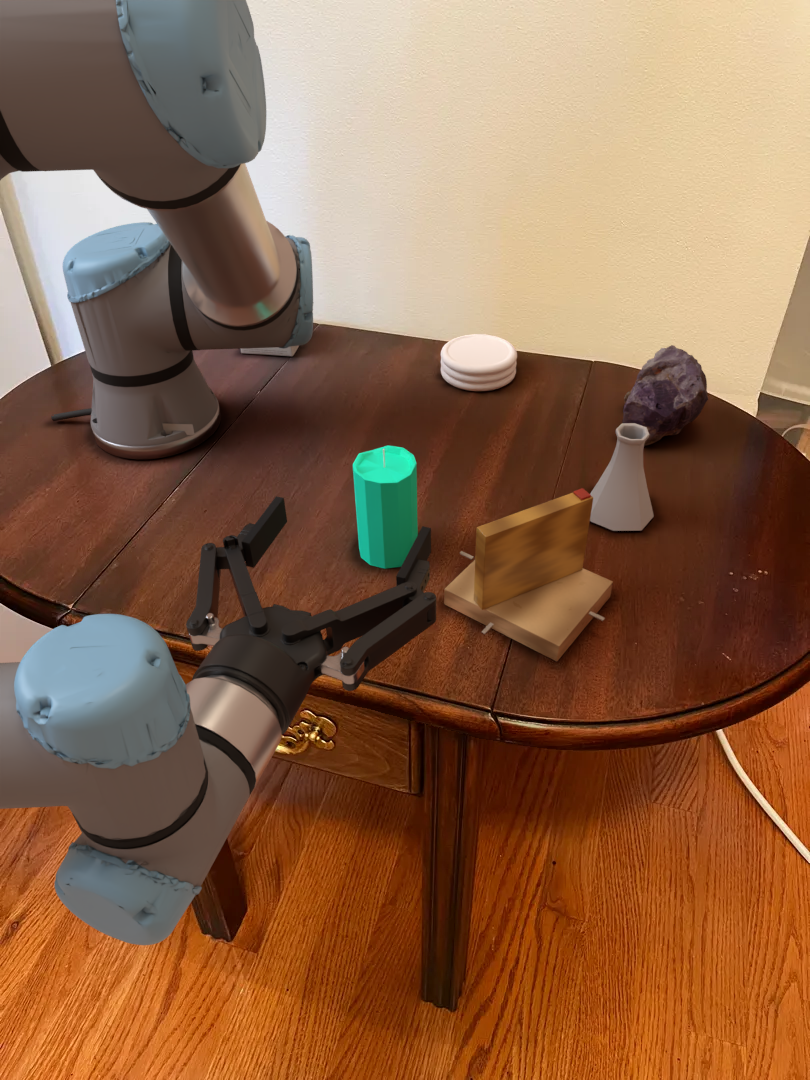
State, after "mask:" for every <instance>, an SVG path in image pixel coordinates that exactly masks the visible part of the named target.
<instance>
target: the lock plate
mask: <svg viewBox="0 0 810 1080" xmlns="http://www.w3.org/2000/svg"><path fill="white" fill-rule="evenodd" d="M459 555H461V556H463V557H465V558H466V559H468V560H469V559H470V560H473V559H474V560H473V561H472V562H470V564H468V566H466V568H465V569H463V570H462V571H461V572H460V573H459V574H458V575H457V576H456V577H455V578H454V579H453V580H452V581H451V582H450V583H449V584H448V585H447V586H446V587H444V590H443V604H444V605H445V606H446V607H449V608H451V609H453V610H455V611H457V612H459V613H460V614H463V615H465V616H466V617H469V618H470V619H472V620H474V621H477V622H478V623H480V624H482V625H484V626H485V627H484V628H483V629H482V631H481V634H483V635H486V634H488V632H489V631H490V630H491V629H493V630H494V631H496V632H498V633H500V634H502V635H504V636H506V637H507V638H509V639H512V640H514V641H516V642H517V643H520V644H521V645H523V646H525V647H527V648H529V649H531V650H533V651H535V652H537V653H539V654H541V655H543V656H545V657H547V658H549V659H551V660H553V661H555V662H558V661H559V660H560V659H561V657H562V656H563V655H564V654H565V653H566V652H567V650H568V649H569V648H570V646H571V645H572V644H573V643H574V642H575V641H576V639H577V638H578V637H579V636H580V634H582V632H583V631H584V629H585V628H586V627H587V626H588V625H589V623H590V622H591V621H592V620H593V619H597V620H599V621H601V622H603V621H605V619H606V617H604V616H602V615H600V614H598V613H599V611H600V610H601V609H602V607H603V606H604V605H605V604H606V603H607V602H608V601H609V599H610V598H611V594H612V590H613V584H614V581H613V580H610V579H608V578H606V577H604V576H601V575H599V574H597V573H595V572H593V571H590V570H588V569H585V568H584V567H583V569H582V570H581V571H578V572H576V573H573V574H571V575H568V576H566V577H563V578H561V579H558V580H556V581H553V582H551V583H548V584H546V585H543V586H541V587H538V588H536V589H533V590H531V591H528V592H526V593H523V594H521V595H518V596H516V597H513V598H511V599H508V600H506V601H503V602H501V603H498V604H496V605H493V606H491V607H488V608H486V609H483V610H482V609H481V608H480V607H479V606H478V605H477V603H476V602H475V601H474V577H475V555H474V556H473V555H471V554H469V553H467V552H465V551H464V550H463V551H462V550H461V551H460V552H459Z"/></svg>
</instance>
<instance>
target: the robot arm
mask: <svg viewBox="0 0 810 1080" xmlns="http://www.w3.org/2000/svg"><path fill="white" fill-rule="evenodd" d="M262 63H263V62H262V58H261V53H260V50H259V45H258V44H257V41H256V39H255V27H254V21H253V17H252V14H251V11H250V8H249V5H248V2H247V0H0V181H1V180H3V178H5V177H7V176H8V175H9V174H12V173H16V172H23V173H24V172H25V173H31V172H61V171H64V172H65V171H93V172H94V174H95V175H96V176H97V177H98V178H99V180H100V181H101V182H102V183H103V184H104V185H105V186H106V187H107V188H108V189H109V190H110V191H111V192H112V193H113V194H115V195H116V196H117V197H119V198H120V199H122V200H124V201H126V202H128V203H130V204H132V205H134V206H136V207H139V208H142V209H145V210H147V211H148V213H149V214H150V216H151V217H152V219H153V220H154V221H155V223H153V222H150V221H149V222H145V221H143V222H132V223H126V224H121V225H117V226H113V227H109V228H106V229H103V230H101V231H98V232H95V233H93V234H91V235H88V236H87V237H85V238H83V239H81V240H79V241H78V242H76V243H75V244H73V246H72V247H70V248H69V250H68V251H67V252H66V254H65V255H64V257H63V261H62V273H63V277H64V282H65V285H66V290H67V296H66V297H67V299H68V302H69V303H70V306H71V309H72V312H73V316H74V318H75V323H76V325H77V329H78V332H79V335H80V338H81V342H82V345H83V348H84V351H85V354H86V358H87V361H88V364H89V368H90V371H91V374H92V375H91V376H92V380H93V382H92V393H91V394H92V395H91V396H92V397H91V398H92V399H91V407H90V408H83V409H82V408H81V409H77V410H72V411H71V410H69V411H64V412H59V413H55V414H53V415H54V416H52V415H50V419H51V420H52V421H53V422H57V421H63V420H69V419H74V418H80V417H81V418H82V417H86V416H90V428H91V432H92V435H93V437H94V441H95V442H96V444H97V445H98V447H99V448H100V449H101V450H102V451H104V452H106V453H108V454H110V455H112V456H115V457H118V458H123V459H129V460H130V459H131V460H153V459H160V458H167V457H171V456H172V457H173V456H175V455H178V454H181V453H185V452H187V451H189V450H192V449H193V448H196V447H198V446H199V445H201V444H203V443H204V442H205V441H207V440H208V439H210V438H211V436H213V435H214V434H215V432H217V430H218V428H219V427H220V424H221V420H222V415H221V408H220V404H219V400H218V397H217V396H216V394H215V392H213V390H212V388H211V387H210V386H209V384H208V382H207V380H206V379H205V377H204V375H203V373H202V371H201V369H200V368H199V366H198V365H197V362H196V361H195V357H194V352H193V351H208V350H209V351H211V350H239V349H240V350H241V349H243V348H274V347H278V348H282V349H285V348H288V347H291V346H299V347H300V346H304V345H306V344H307V343H309V342H310V340H311V339H312V337H313V332H314V311H313V310H314V279H313V278H314V276H313V259H312V250H311V243H310V242H309V240H308V239H307V238H305V237H302V236H295V235H293V234H292V235H291V234H287V235H286V236H285V234H283V232H281V230H280V229H279V228H278V227H277V226H275V225H274V224H273V223H271V222H269V221H268V220H267V219H266V216H265V214H264V211H263V208H262V205H261V203H260V200H259V197H258V194H257V192H256V189H255V186H254V184H253V180H252V177H251V175H250V173H249V170H248V166H247V164H248V163H250V162H252V161H254V160H255V159H256V158H257V156H258V154H259V153H260V152H261V151H262V148H263V145H264V142H265V138H266V137H265V136H266V132H267V98H266V97H267V95H266V86H265V78H264V71H263V64H262ZM285 503H286V502H285V497H281V496H278V495H276V496H275V497H274V498H273V500H272V501H271V502H270V504H269V505H268V506H267V507H266V509H265V510H264V511H263V513H262V514H261V515H260V517H259V518H258V519H257V520H256V522H255V523H250V522H249V523H248V524H246V525H244V526H243V528H242V529H241V531H240V532H239V533H238V534H237V535H234V534H233V535H232V534H231V535H226V536H225V537H224V538H223V539H222V543H223V546H217V545H216V544H215V543H213V542H207V543H205V544H203V545H202V546H201V548H200V557H199V567H198V569H199V570H198V577H197V578H198V579H197V588H196V589H197V590H196V600H195V607H194V609H193V611H191V614H190V616H189V617H188V618H187V621H186V622H185V626H186V631H187V634H188V638H189V641H190V644H191V645H190V646H191V648H192V650H194V651H196V652H201V651H204V650H206V649H207V647H208V646H212V648H211V649H210V650H209V652H208V653H207V655H206V656H205V658H204V659H203V660H202V661H201V663H200V665H199V666H198V667H197V670H195V672H194V674H193V675H192V677H191V678H192V679H191V681H189V682H187V683H185V681H184V679H183V678H182V675H180V673H179V671H178V669H177V665H176V663H175V661H174V659H173V656H172V653H171V651H170V649H169V647H168V645H167V642H166V641H165V639H164V638H163V637H162V636H161V635H160V633H159V632H158V631H157V630H156V629H154V628H153V627H152V625H149V624H148V623H147V622H145V621H143V620H141V619H138V618H136V617H133V616H129V615H126V614H125V615H124V614H120V613H118V614H117V613H98V614H97V613H96V614H90V615H86V616H83V617H82V619H81V621H79V622H77V623H74V624H71V625H68V626H67V625H66V624H65V625H64V624H61V625H59V626H57V627H54V628H53V629H51V630H49V631H48V632H46V633H44V634H43V635H42V636H41V637H40V638H38V639H37V640H36V641H35V642H34V643H33V644H32V645H31V646H30V648H29V649H28V650H27V651H26V652H25V654H24V655H23V657H22V658H21V660H20V661H14V662H13V661H12V662H10V661H9V662H0V810H4V809H6V810H7V809H27V808H50V807H67V808H68V809H69V810H70V813H71V814H72V816H73V818H74V820H75V822H76V825H77V826H78V828H79V830H80V832H81V834H80V835H79V836H78V837H77V838H76V840H74V841H71V843H70V844H69V846H68V849H67V850H68V851H67V852H66V854H65V856H64V858H63V860H62V862H61V864H60V865H59V867H58V869H57V870H56V873H55V879H54V890H55V893H56V896H57V897H58V898H59V900H60V901H61V903H62V904H63V905H64V906H65V907H66V908H67V909H68V911H69V912H71V913H72V914H73V915H74V916H76V917H77V918H78V919H79V920H81V921H82V922H84V923H85V924H86V925H88V926H90V927H91V928H93V929H95V930H96V931H97V932H100V933H102V934H104V935H106V936H108V937H111V938H112V939H115V940H119V941H121V942H124V943H127V944H131V945H136V946H137V945H138V946H152V945H155V944H160V943H161V942H163V941H164V940H166V939H167V938H168V937H170V936H171V934H172V933H173V931H174V930H175V928H176V926H177V925H178V923H179V922H180V920H181V918H182V917H183V916H184V914H185V912H186V911H187V910H188V908H189V906H190V905H191V903H192V901H193V900H194V898H195V897H196V896H197V895H199V894H200V893H201V891H202V889H203V887H202V885H203V883H204V881H205V879H206V878H207V876H208V874H209V872H210V870H211V868H212V866H213V864H214V862H215V861H216V859H217V858H218V855H219V853H220V852H221V850H222V848H223V846H224V844H225V842H226V840H227V838H229V837H228V836H229V835H230V833H231V832H232V830H233V828H234V826H235V824H236V822H237V820H238V819H239V816H240V815H241V813H242V812H243V810H244V807H245V805H246V803H247V801H248V800H249V798H250V796H251V795H252V792H253V791H254V789H255V788H256V786H257V784H258V783H259V781H260V779H261V777H262V775H263V774H264V772H265V771H266V768H267V767H268V765H269V763H270V761H271V759H272V757H273V756H274V754H275V752H276V750H277V748H278V747H279V745H280V744H281V740H282V737H283V735H284V734H285V733H286V732H287V731H288V729H289V728H290V726H291V724H292V723H293V720H294V718H295V717H296V715H297V714H298V711H299V709H300V708H301V706H302V704H303V702H304V701H305V699H306V696H307V694H308V693H309V690H310V688H311V685H312V684H313V683H314V682H315V680H317V679H318V678H320V677H322V676H323V675H326V676H329V677H330V678H331V677H332V678H334V679H337V680H340V681H341V684H342V688H343V689H344V690H345V691H348V692H353V691H355V690H357V689H358V688H359V686H360V685H361V684H362V682H363V681H364V679H365V678H366V676H367V675H368V673H369V672H371V670H373V669H374V668H375V667H377V666H378V665H380V664H381V663H382V662H383V661H385V660H386V659H388V658H389V657H391V656H392V655H394V653H396V652H398V651H399V650H400V649H401V648H402V647H404V646H405V645H407V644H408V643H409V642H411V641H412V640H414V639H415V638H416V637H418V636H419V635H420V634H422V633H423V632H424V631H426V630H427V629H429V628H430V627H431V626H433V625H434V624H435V623H436V622H437V595H436V594H435V593H434V592H432V591H425V590H426V587H427V585H428V583H429V582H430V579H431V566H430V564H431V563H430V561H429V557H430V556H431V553H432V527H428V526H421V528H420V530H419V531H418V536H417V538H416V539H415V541H414V543H413V545H412V547H411V549H410V551H409V553H408V555H407V557H406V559H405V560H404V562H403V564H402V566H401V567H399V570H398V572H397V574H396V576H395V584H396V586H393V587H391V588H388V589H386V590H384V591H381V592H379V593H376V594H374V595H372V596H369V597H367V598H365V599H364V598H363V599H361V600H359V601H356V602H355V603H352V604H350V605H347V606H345V607H342V608H340V609H337V610H336V611H335V610H333V609H326V610H324V611H322V612H319V613H317V614H314V615H312V613H311V612H309V611H306V610H297V609H296V610H295V609H289V608H288V607H286V606H284V605H280V604H276V603H273V604H272V606H265V607H262V603H261V601H260V598H259V595H258V593H257V591H256V589H255V587H254V583H253V581H252V578H251V575H250V572H249V569H248V567H249V568H252V569H254V568H255V567H256V566H257V565H258V563H259V562H260V560H261V559H262V557H263V556H264V555H265V554H266V552H267V551H268V549H269V548H270V547H271V545H273V542H274V541H275V540H276V538H277V537H278V535H279V534H280V533H281V531H282V530H283V529H284V527H285V526H286V524H287V523H288V518H287V517H288V515H287V510H286V504H285ZM222 570H228V571H229V574H230V577H231V580H232V583H233V586H234V589H235V592H236V596H237V598H238V602H239V604H240V608H241V610H242V613H243V617H240V618H238V619H236V620H234V621H232V622H229V623H228V624H226V625H225V626H223V628H221V627H222V626H221V622H220V619H219V618H218V617H219V605H220V604H219V602H220V588H221V587H220V586H221V572H222ZM323 630H325V632H326V633H325V634H326V636H325V638H324V637H323V635H322V634H323V633H322V631H323ZM352 641H354V642H353V643H352V644H351V645H350V647H349V646H344V645H345V644H347V643H349V642H352ZM340 650H341V651H340ZM339 651H340V652H339ZM337 652H339V653H338V654H336V655H333V654H335V653H337Z"/></svg>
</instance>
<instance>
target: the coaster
mask: <svg viewBox="0 0 810 1080" xmlns="http://www.w3.org/2000/svg"><path fill="white" fill-rule="evenodd" d="M517 359H518V351H517V349H516V347H515V346H514V345H513V344H512V343H511V342H510V341H508V340H507V339H504V338H503V337H501V336H497V335H493V334H485V333H473V334H464V335H460V336H457V337H454V338H452V339H450V340H448V342H446V343H445V344H444V345H443V346H442V348H441V350H440V374H441V376H442V378H443V380H444V381H445V382H447V383H448V384H449V385H451V386H452V387H454V388H457V389H459V390H465V391H469V392H489V391H494V390H498V389H500V388H503V387H505V386H507V385H508V384H510V383H511V382H512V381H513V380H514V379H515V377H516V374H517V365H518V363H517Z"/></svg>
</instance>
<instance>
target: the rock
mask: <svg viewBox="0 0 810 1080" xmlns="http://www.w3.org/2000/svg"><path fill="white" fill-rule="evenodd" d="M623 400H624V405H623V409H622V412H623V415H622V416H623V417H622V423H635V424H638V425H641V426H644V427H647V430H648V432H649V437H648V439H647V440H646V441H645V443H644V446H649V445H652V444H655V443H657V442H659V441H661V439H662V438H663V437H666V436H675V435H678V434H679V433H680V432H682V430H683V428H684V427H685V426H687V425H688V424H690V423H693V422H694V420H696V419H697V418H698V416H699V415H700V414H701V412H702V411H703V410H704V407H705V405H706V403H707V402H708V401H709V396H708V382H707V376H706V374H705V372H704V371H703V369H702V365H701V363H699V360H698V359H696V358H695V357H694V356H693V355H692V354H689V353H688V352H687V351H686V350H685V349H682V348H678V347H676V345H673V344H671V345H669V346H667V347H661V348H660V349H658V351H656V352H655V353H654V356H653V357H652V358H650V359H648V360H646V363H644V364H643V365H642V366H641V369H640V370H639V372H638V373H637V375H636V379H635V382H634V385H633V386H632V388H631V389H630V390H629V391H627V392H626V393H625V395H624V398H623ZM622 423H621V424H622Z"/></svg>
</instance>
